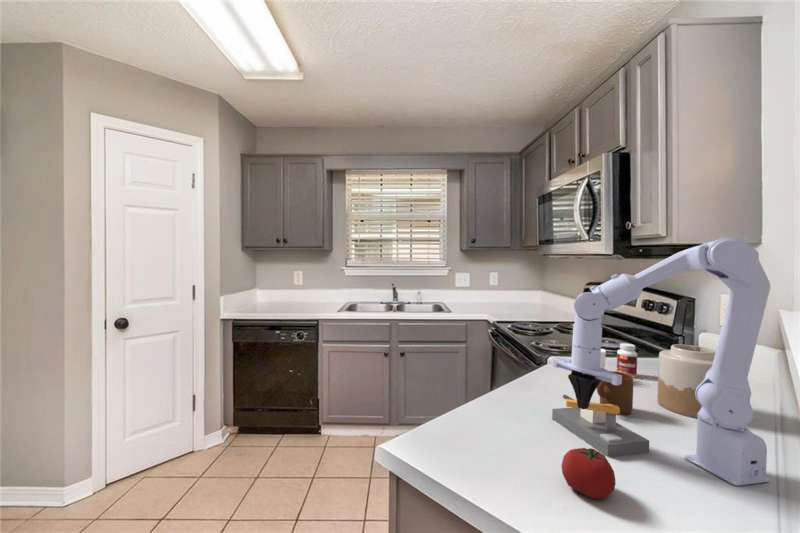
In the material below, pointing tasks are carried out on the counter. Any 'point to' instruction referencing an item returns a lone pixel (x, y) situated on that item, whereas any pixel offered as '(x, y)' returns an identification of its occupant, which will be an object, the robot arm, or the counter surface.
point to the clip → (595, 407)
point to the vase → (682, 377)
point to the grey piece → (602, 433)
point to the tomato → (588, 472)
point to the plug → (590, 414)
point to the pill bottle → (627, 360)
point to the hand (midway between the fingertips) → (582, 407)
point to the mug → (618, 393)
